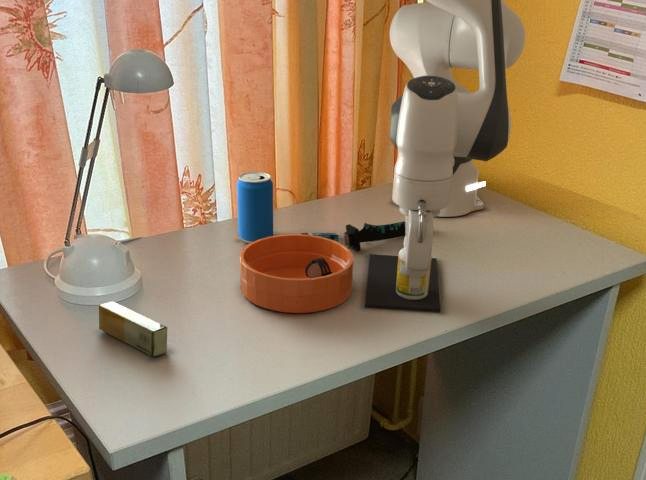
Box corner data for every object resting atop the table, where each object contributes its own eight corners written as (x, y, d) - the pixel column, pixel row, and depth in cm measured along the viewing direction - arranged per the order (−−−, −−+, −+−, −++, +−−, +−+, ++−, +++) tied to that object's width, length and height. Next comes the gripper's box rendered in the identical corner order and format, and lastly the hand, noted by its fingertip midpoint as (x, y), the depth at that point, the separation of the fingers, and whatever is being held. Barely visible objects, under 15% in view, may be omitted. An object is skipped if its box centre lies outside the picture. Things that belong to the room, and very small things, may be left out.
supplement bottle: (415, 303, 127) (421, 248, 122) (388, 293, 130) (393, 238, 125) (434, 293, 131) (440, 238, 126) (407, 283, 133) (412, 229, 128)
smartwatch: (328, 281, 133) (329, 253, 131) (332, 295, 129) (332, 266, 126) (304, 281, 133) (304, 254, 130) (306, 295, 128) (307, 267, 126)
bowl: (251, 263, 139) (250, 231, 136) (354, 269, 139) (356, 237, 135) (231, 311, 124) (230, 276, 120) (348, 318, 123) (350, 283, 120)
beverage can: (279, 241, 148) (279, 179, 142) (248, 248, 145) (247, 184, 138) (262, 230, 152) (261, 168, 146) (232, 236, 149) (230, 174, 143)
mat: (369, 257, 143) (369, 254, 143) (436, 261, 143) (436, 258, 143) (364, 307, 126) (365, 304, 126) (440, 312, 126) (440, 309, 126)
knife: (300, 258, 138) (303, 234, 136) (292, 252, 140) (294, 228, 138) (434, 243, 155) (438, 222, 153) (424, 238, 157) (429, 216, 155)
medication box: (168, 352, 112) (169, 326, 110) (154, 358, 110) (154, 332, 108) (112, 324, 118) (112, 299, 116) (97, 329, 116) (96, 304, 114)
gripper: (445, 216, 112) (435, 303, 119) (439, 171, 130) (431, 249, 137) (400, 213, 112) (393, 300, 119) (401, 169, 130) (395, 247, 137)
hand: (414, 273), depth 128 cm, fingers open, 8 cm apart
